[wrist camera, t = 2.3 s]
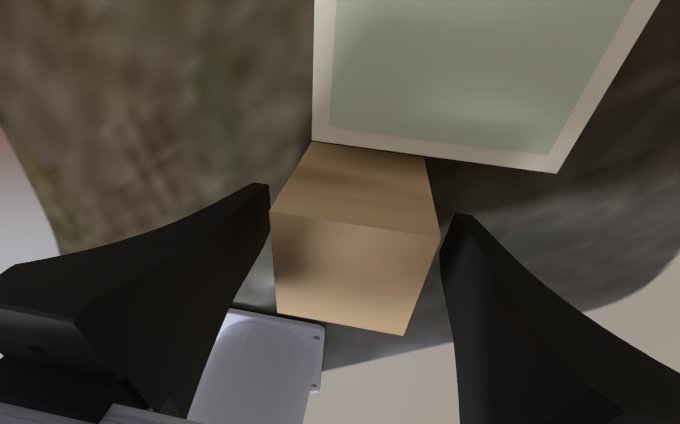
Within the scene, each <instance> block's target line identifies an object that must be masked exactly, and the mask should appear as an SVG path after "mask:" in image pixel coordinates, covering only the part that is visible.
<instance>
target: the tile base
mask: <svg viewBox="0 0 680 424" xmlns="http://www.w3.org/2000/svg"><path fill="white" fill-rule="evenodd" d="M659 2H660V0H315V14H314V58H313V102H312V140H314V141H321V142H328V143H336V144H343V145H350V146H357V147H365V148H372V149H379V150H387V151H394V152H401V153H409V154H416V155H423V156H430V157H438V158H445V159H452V160H460V161H467V162H474V163H482V164H489V165H496V166H504V167H511V168H518V169H525V170H533V171H540V172H547V173H555V174H557V172H558V171H559V169H560V167H561V166H562V164H563V162H564V161H565V159H566V157H567V156H568V154H569V152H570V151H571V149H572V147H573V146H574V144H575V142H576V141H577V139H578V137H579V136H580V134H581V132H582V131H583V129H584V127H585V126H586V124H587V122H588V121H589V119H590V117H591V116H592V114H593V112H594V111H595V109H596V107H597V105H598V104H599V102H600V100H601V99H602V97H603V95H604V94H605V92H606V90H607V89H608V87H609V85H610V84H611V82H612V80H613V79H614V77H615V75H616V74H617V72H618V70H619V69H620V67H621V65H622V64H623V62H624V60H625V59H626V57H627V55H628V54H629V52H630V50H631V49H632V47H633V45H634V44H635V42H636V40H637V39H638V37H639V35H640V34H641V32H642V30H643V29H644V27H645V25H646V24H647V22H648V20H649V19H650V17H651V15H652V14H653V12H654V10H655V9H656V7H657V5H658V4H659Z"/></svg>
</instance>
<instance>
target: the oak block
mask: <svg viewBox="0 0 680 424" xmlns="http://www.w3.org/2000/svg"><path fill="white" fill-rule="evenodd" d="M269 217H270V229H271V241H272V254H273V266H274V278H275V290H276V303H277V313H282V314H287V315H292V316H298V317H303V318H309V319H314V320H319V321H325V322H330V323H336V324H341V325H346V326H352V327H357V328H363V329H368V330H373V331H379V332H384V333H390V334H395V335H400V336H404V333H405V331H406V328H407V325H408V323H409V320H410V318H411V315H412V312H413V310H414V307H415V305H416V302H417V300H418V297H419V294H420V292H421V289H422V287H423V284H424V281H425V279H426V276H427V274H428V271H429V269H430V266H431V263H432V261H433V258H434V256H435V253H436V250H437V248H438V245H439V243H440V240H441V235H440V230H439V226H438V221H437V216H436V212H435V207H434V202H433V198H432V193H431V188H430V184H429V179H428V174H427V170H426V165H425V161H424V157H420V156H412V155H405V154H398V153H390V152H383V151H376V150H369V149H361V148H354V147H347V146H340V145H332V144H325V143H318V142H311V144H310V146H309V147H308V149H307V150H306V152H305V154H304V155H303V157H302V158H301V160H300V162H299V163H298V165H297V167H296V168H295V170H294V171H293V173H292V175H291V176H290V178H289V180H288V181H287V183H286V184H285V186H284V188H283V189H282V191H281V193H280V194H279V196H278V197H277V199H276V201H275V202H274V204H273V205H272V207H271V209H270V210H269Z"/></svg>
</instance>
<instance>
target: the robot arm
mask: <svg viewBox="0 0 680 424" xmlns="http://www.w3.org/2000/svg"><path fill="white" fill-rule="evenodd" d="M270 209H271V206H270V194H269V185H267V184H261V183H252V184H249V185H247V186H245V187H244V188H242V189H240V190H238V191H236V192H234V193H232V194H231V195H229V196H227V197H225V198H223V199H221V200H219V201H218V202H216V203H214V204H212V205H210V206H208V207H206V208H204V209H202V210H200V211H198V212H196V213H194V214H192V215H189V216H187V217H185V218H183V219H181V220H178V221H176V222H174V223H171V224H168V225H166V226H163V227H161V228H158V229H155V230H153V231H150V232H147V233H144V234H141V235H137V236H134V237H131V238H128V239H125V240H122V241H119V242H115V243H111V244H108V245H104V246H100V247H96V248H92V249H88V250H84V251H80V252H76V253H71V254H67V255H62V256H57V257H52V258H47V259H42V260H36V261H31V262H27V263H20V264H15V265H13V266H12V267H10V268H9V269H7V270H6V271H4V272H3V273H1V274H0V353H1V354H2V355H4V356H3V357H2V358H1V359H0V424H303V419H304V415H305V410H306V406H307V401H308V396H309V392H310V393H318V392H319V390H320V381H321V371H322V360H323V349H324V337H325V328H324V327H323V326H321V325H318V324H313V323H308V322H302V321H297V320H292V319H286V318H281V317H276V316H270V315H265V314H259V313H254V312H249V311H243V310H238V309H233V308H230V306H231V304H232V302H233V300H234V298H235V296H236V294H237V292H238V290H239V288H240V287H241V285H242V283H243V281H244V280H245V278H246V276H247V275H248V273H249V271H250V269H251V268H252V266H253V264H254V262H255V261H256V259H257V257H258V255H259V254H260V252H261V250H262V248H263V247H264V244H265V242H266V240H267V237H268V235H269V232H270V217H269V210H270ZM439 257H440V273H441V280H442V285H443V290H444V295H445V300H446V305H447V309H448V314H449V319H450V324H451V328H452V334H453V340H454V349H455V359H456V370H457V383H458V396H459V414H460V424H680V373H678V372H677V371H675V370H673V369H671V368H669V367H667V366H666V365H664V364H662V363H660V362H658V361H657V360H655V359H653V358H652V357H650V356H648V355H647V354H645V353H643V352H642V351H640V350H638V349H637V348H635V347H633V346H632V345H630V344H629V343H627V342H625V341H624V340H622V339H620V338H619V337H617V336H616V335H614V334H613V333H611V332H609V331H608V330H606V329H605V328H603V327H602V326H600V325H599V324H597V323H596V322H594V321H593V320H592V319H590V318H589V317H587V316H585V315H584V314H583V313H581V312H580V311H578V310H577V309H576V308H574V307H573V306H572V305H570V304H569V303H567V302H566V301H565V300H563V299H562V298H561V297H560V296H558V295H557V294H556V293H555V292H553V291H552V290H551V289H549V288H548V287H547V286H546V285H544V284H543V283H542V282H541V281H540V280H538V279H537V278H536V277H535V276H534V275H533V274H532V273H530V272H529V271H528V270H527V269H526V268H525V267H524V266H523V265H522V264H520V263H519V262H518V261H517V260H516V259H515V258H514V257H513V256H512V255H511V254H510V253H509V252H508V251H507V250H506V249H505V248H504V247H503V246H502V245H501V244H500V243H499V242H498V241H497V240H496V239H495V238H494V237H493V236H492V235H491V234H490V233H489V232H488V231H487V230H486V229H485V228H484V227H483V226H482V225H481V224H480V223H479V222H478V221H477V220H476V219H475V218H474V217H473V216H472V215H466V214H459V213H455V214H454V217H453V219H452V222H451V224H450V227H449V229H448V232H447V234H446V237H445V239H444V242H443V244H442V247H441V250H440V252H439ZM215 341H217V342H216V344H215V346H214V343H215ZM213 346H214V348H213ZM212 348H213V350H212ZM211 351H212V352H211Z"/></svg>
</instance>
